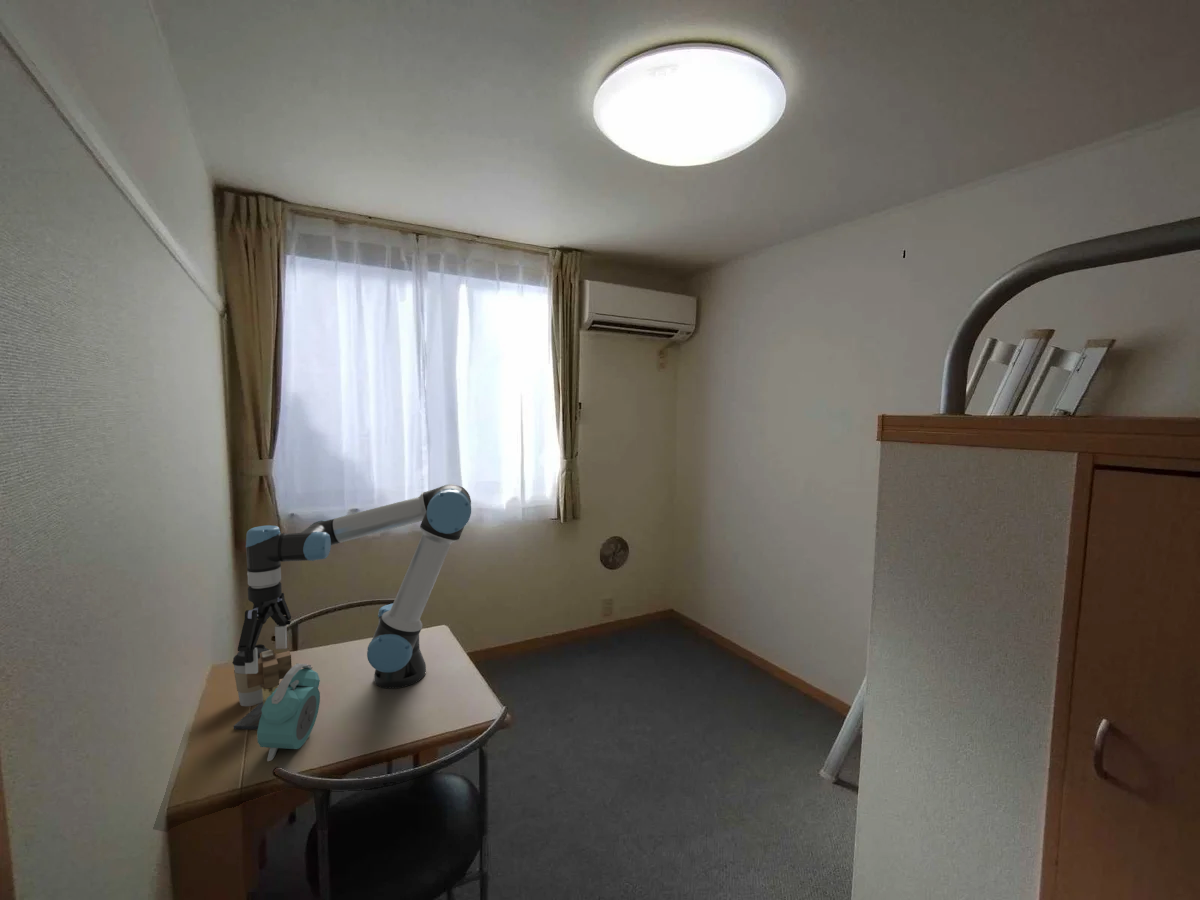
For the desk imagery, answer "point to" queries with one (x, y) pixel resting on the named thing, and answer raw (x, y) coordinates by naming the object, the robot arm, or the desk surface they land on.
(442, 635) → the desk surface
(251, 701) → the coffee cup
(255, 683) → the cross cap
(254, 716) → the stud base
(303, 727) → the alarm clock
